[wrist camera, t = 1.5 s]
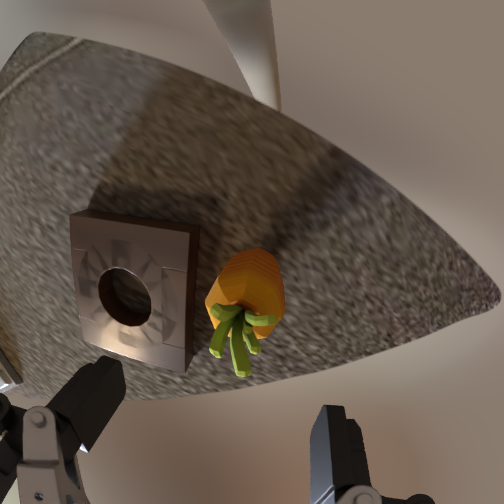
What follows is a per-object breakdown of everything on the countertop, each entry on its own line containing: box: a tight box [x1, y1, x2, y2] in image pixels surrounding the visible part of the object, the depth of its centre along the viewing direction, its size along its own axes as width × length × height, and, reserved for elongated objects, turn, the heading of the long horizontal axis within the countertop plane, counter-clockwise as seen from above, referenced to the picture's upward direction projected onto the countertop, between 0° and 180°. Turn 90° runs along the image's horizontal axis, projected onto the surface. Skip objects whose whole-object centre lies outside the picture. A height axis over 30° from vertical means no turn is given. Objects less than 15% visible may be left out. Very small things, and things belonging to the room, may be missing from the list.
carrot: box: [205, 247, 285, 377], centre depth 20 cm, size 5×5×15 cm
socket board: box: [70, 210, 200, 373], centre depth 28 cm, size 16×14×3 cm
